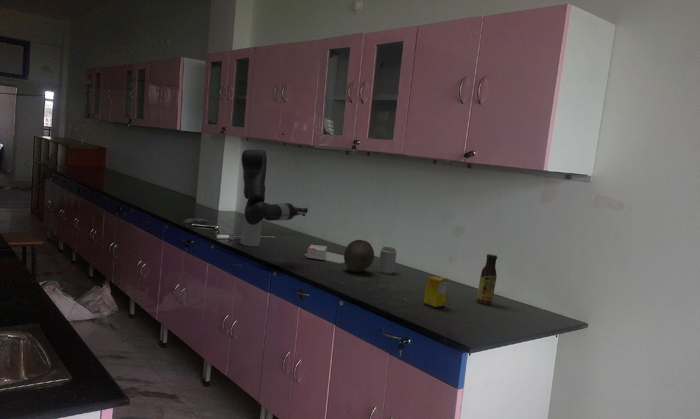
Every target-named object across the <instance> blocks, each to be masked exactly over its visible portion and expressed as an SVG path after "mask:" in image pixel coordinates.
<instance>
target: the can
mask: <svg viewBox="0 0 700 419" xmlns="http://www.w3.org/2000/svg"><path fill="white" fill-rule="evenodd" d="M379 254H380V255H379V263H378V268H377V269H378V271H379V273H380V274H385V275H392V274H394V273H395V265H396V259H397V258H396V257H397V251H396V248H395V247H390V246H382V247H381V249H380V253H379Z"/></svg>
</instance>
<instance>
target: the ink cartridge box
mask: <svg viewBox="0 0 700 419" xmlns="http://www.w3.org/2000/svg"><path fill="white" fill-rule="evenodd" d="M327 250H328V246H325V245H319V244H318V245H316V244H310V245H309V247H308V248H307V250H306V254H307V256H306V258H308V259H314V260H322V261H324V260H323V259H324V258H325V256H326V253H327V252H328V251H327Z"/></svg>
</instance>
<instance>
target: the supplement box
mask: <svg viewBox="0 0 700 419" xmlns="http://www.w3.org/2000/svg"><path fill="white" fill-rule="evenodd" d="M448 285H449V278H446V277H442V276H439V275H433V276H431V275H430V276H426V282H425V290H424V299H423V306H426V305H427V307H429V306H430V308H432V309H434V308H436V309H442V308H445V307H446V300H447V291H448Z"/></svg>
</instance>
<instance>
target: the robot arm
mask: <svg viewBox="0 0 700 419" xmlns="http://www.w3.org/2000/svg"><path fill="white" fill-rule="evenodd" d="M267 158H268V157H267V153H266V151H265V150H264V149H245V150H244V151H242V153H241V165H242V171H243V172H242V173H243V185H244V186H243V195H244V198H245V199H247V202H246V205H245V208H244V216H243V225H242V226H241V232H240V242H239V243H240V244H241V245H242V246H245V247H260V241H261V233H262V232H261V231H262V224H263V223H262V222H263V220H265V221H270V222H273V221H274V222H275V221H279V222H280V221H281V222H282V221H290V220H292V219H293V218H294V217H297V216H303V217H306V214H307V213H308V208H306V207H299V206H294V205H293V204H292V203H290V202H286V203H285V202H284V203H283V202H282V203H274V204H273V203H272V204H270V203H268V202H265V200H266V196H265V195H266V194H265V193H266V185H265V184H266V183H265V182H266V177H267V176H266V175H267V164H268V159H267Z"/></svg>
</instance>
